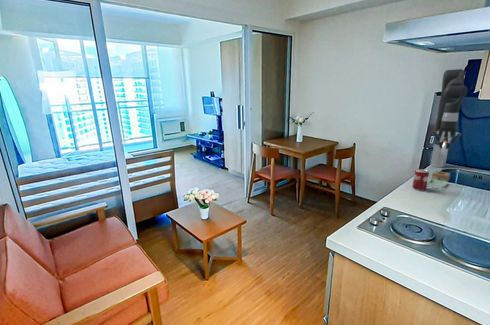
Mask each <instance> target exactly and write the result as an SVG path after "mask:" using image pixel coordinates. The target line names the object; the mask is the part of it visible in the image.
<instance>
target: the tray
mask: <svg viewBox="0 0 490 325" xmlns="http://www.w3.org/2000/svg"><path fill="white" fill-rule="evenodd" d="M433 182H435V183H433ZM436 183H440V184H436ZM448 183H449V181H448V182H446V181H441V180H436V179H431V178H430V179H428V182H427V188H429V187H430V188H433V189H435V188H436V189H438V190H442V191H443V190H444V188H445V187H447V185H448ZM441 184H443V185H441Z"/></svg>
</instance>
